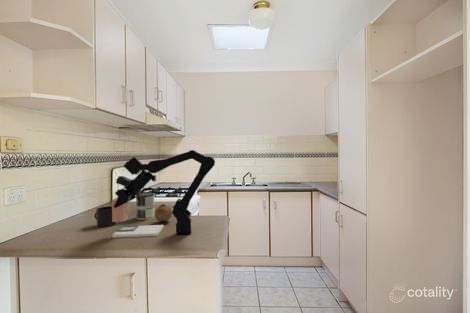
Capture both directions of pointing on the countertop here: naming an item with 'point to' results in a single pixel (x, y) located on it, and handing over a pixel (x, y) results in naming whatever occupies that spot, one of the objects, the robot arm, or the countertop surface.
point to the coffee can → (145, 206)
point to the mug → (104, 217)
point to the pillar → (119, 212)
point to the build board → (137, 231)
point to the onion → (163, 213)
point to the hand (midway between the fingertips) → (116, 206)
